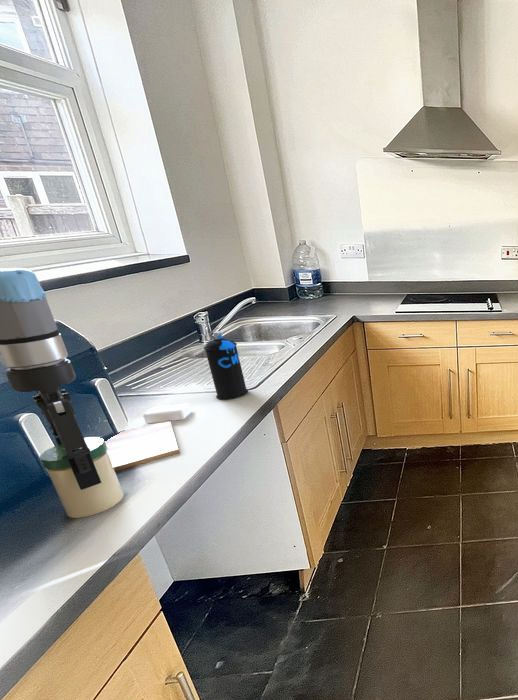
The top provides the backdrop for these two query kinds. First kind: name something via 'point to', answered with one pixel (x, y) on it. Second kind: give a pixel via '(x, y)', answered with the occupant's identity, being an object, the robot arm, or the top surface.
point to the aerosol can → (225, 367)
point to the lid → (54, 455)
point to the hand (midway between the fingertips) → (84, 475)
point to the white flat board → (142, 445)
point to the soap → (167, 413)
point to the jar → (88, 489)
